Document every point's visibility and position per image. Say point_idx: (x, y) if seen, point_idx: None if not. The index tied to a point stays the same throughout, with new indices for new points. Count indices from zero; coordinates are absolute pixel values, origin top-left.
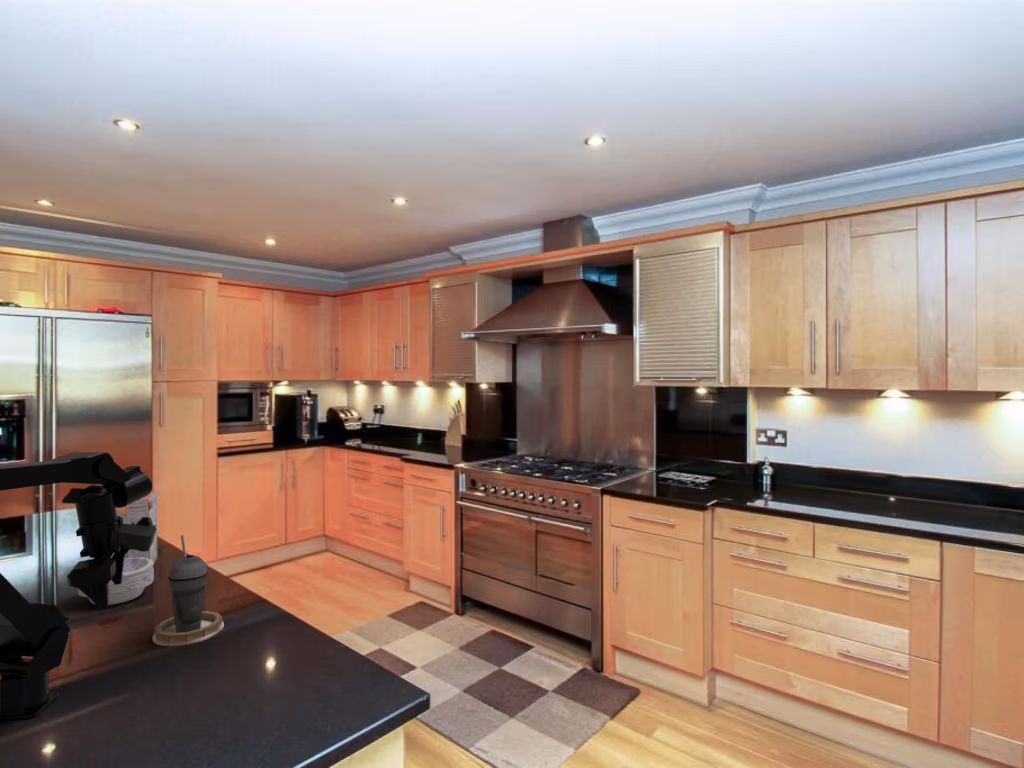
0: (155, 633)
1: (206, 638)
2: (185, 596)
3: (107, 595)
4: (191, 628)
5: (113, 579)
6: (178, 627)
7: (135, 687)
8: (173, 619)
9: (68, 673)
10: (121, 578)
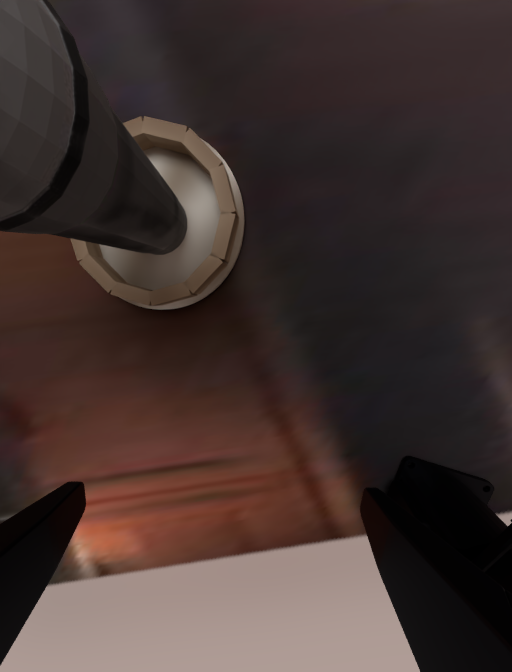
0: (168, 302)
1: (229, 170)
2: (134, 169)
3: (464, 562)
4: (181, 207)
5: (60, 547)
6: (173, 241)
7: (448, 309)
8: (100, 264)
9: (289, 455)
10: (57, 503)
